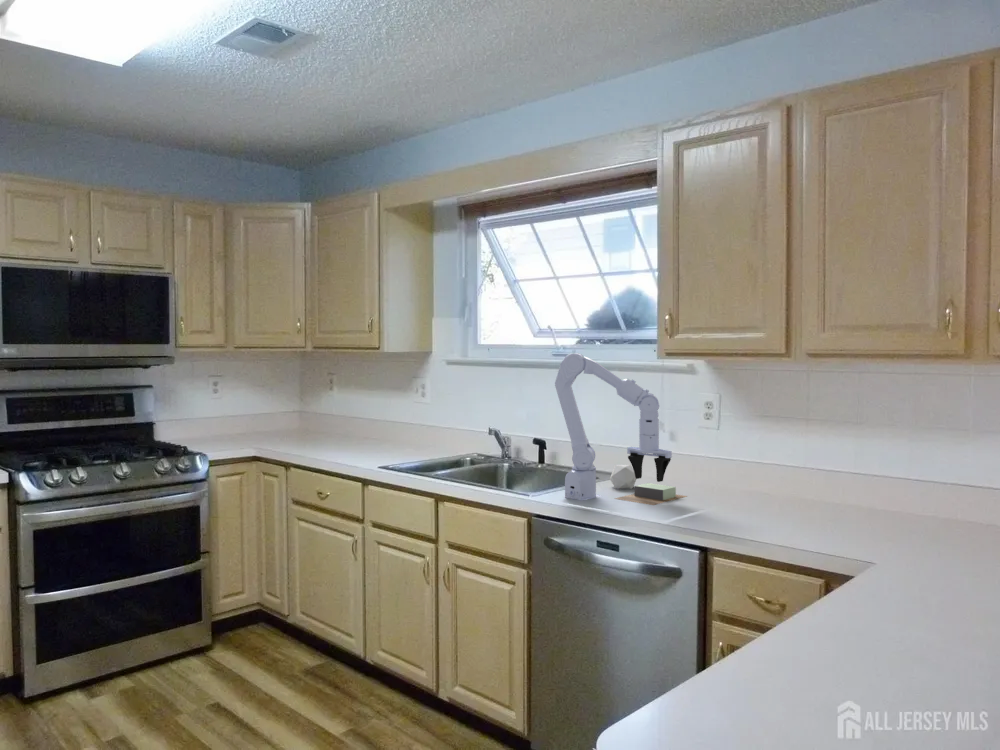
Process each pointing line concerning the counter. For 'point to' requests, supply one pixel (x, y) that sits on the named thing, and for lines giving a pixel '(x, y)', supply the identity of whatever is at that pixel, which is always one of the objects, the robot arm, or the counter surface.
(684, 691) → the counter surface
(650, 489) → the sage slab
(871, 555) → the counter surface
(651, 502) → the walnut board
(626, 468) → the die
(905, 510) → the counter surface
